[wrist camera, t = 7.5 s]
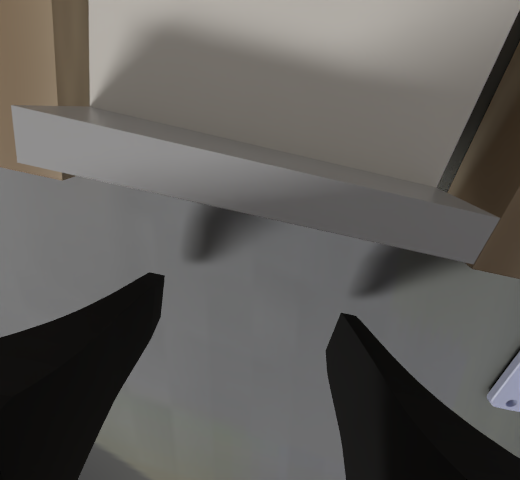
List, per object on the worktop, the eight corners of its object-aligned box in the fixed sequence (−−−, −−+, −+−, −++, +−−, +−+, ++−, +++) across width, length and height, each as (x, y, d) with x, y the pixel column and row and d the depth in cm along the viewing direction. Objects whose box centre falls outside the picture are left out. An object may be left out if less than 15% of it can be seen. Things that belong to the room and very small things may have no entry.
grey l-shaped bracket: (464, -38, 9) (804, -305, 3) (376, 189, 12) (473, 264, 6) (163, -119, 8) (-68, -590, 3) (147, 136, 11) (17, 162, 6)
